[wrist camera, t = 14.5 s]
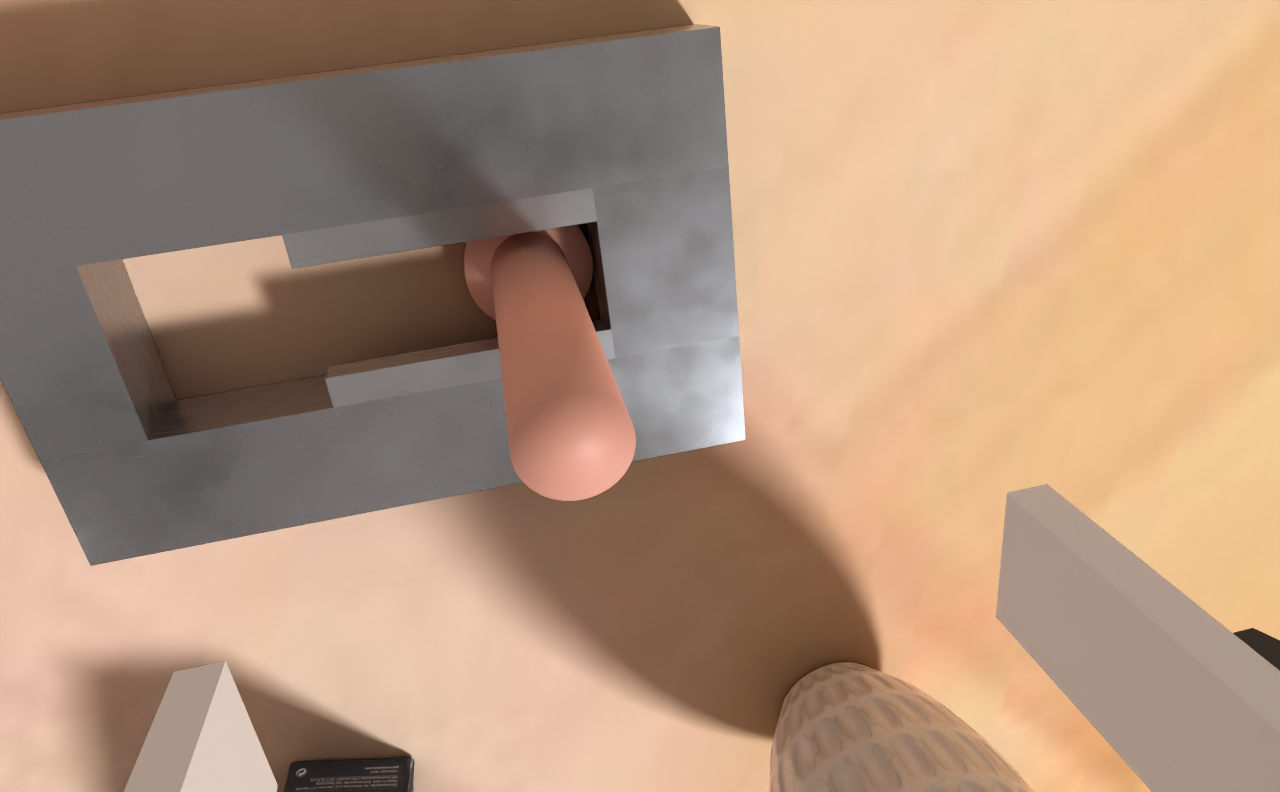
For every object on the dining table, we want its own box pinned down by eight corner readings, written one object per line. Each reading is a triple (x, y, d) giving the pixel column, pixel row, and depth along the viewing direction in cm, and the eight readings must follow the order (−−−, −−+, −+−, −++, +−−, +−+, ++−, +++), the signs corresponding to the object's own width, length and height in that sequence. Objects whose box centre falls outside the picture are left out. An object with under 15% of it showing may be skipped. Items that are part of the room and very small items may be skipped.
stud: (476, 328, 35) (485, 552, 21) (453, 207, 33) (447, 367, 19) (595, 309, 36) (683, 515, 22) (580, 190, 34) (668, 332, 19)
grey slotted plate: (122, 516, 36) (91, 565, 33) (-54, 120, 29) (-117, 135, 26) (722, 404, 39) (745, 439, 36) (694, 23, 32) (719, 26, 29)
